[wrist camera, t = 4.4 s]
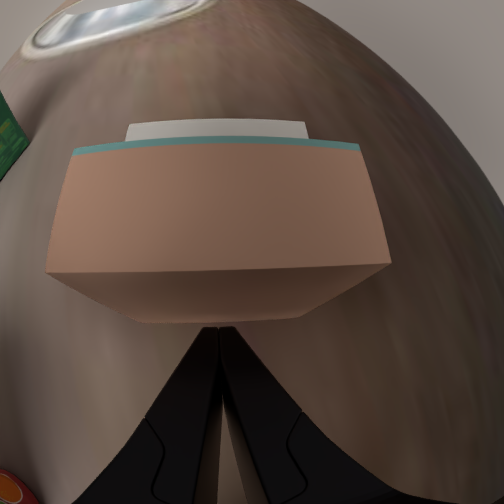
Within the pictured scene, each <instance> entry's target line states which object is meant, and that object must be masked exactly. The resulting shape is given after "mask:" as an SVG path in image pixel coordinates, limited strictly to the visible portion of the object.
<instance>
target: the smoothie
mask: <svg viewBox="0 0 504 504" xmlns="http://www.w3.org/2000/svg"><path fill="white" fill-rule="evenodd" d="M0 504H39V502H38V501H37V499H36V498H35V496H34V495H33V494H32V492H31V491H30V490H29V489H28V488H27V487H26V486H25V484H24V483H23V482H22V481H20V480H19V479H18V478H17V477H16V476H15V475H13V474H11V473H10V472H8V471H6V470H3V469H0Z"/></svg>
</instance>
